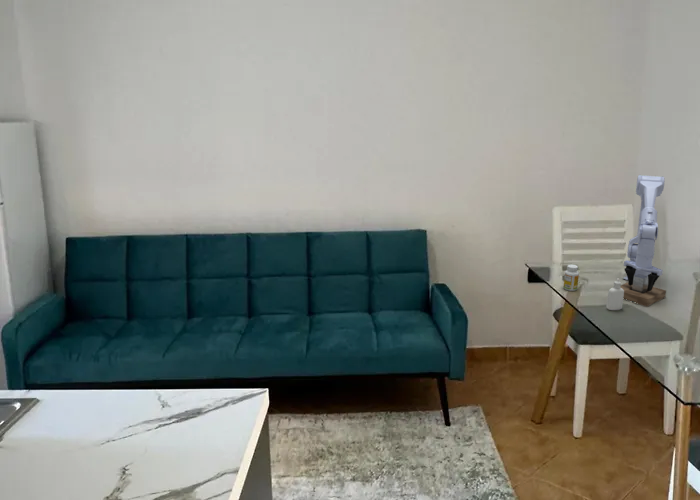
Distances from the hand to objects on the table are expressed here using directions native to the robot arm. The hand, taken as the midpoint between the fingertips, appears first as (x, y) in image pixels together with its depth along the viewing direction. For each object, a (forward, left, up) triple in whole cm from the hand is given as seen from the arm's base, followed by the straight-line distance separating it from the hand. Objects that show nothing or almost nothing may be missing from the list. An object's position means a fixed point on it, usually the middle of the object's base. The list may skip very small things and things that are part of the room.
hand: (639, 287), depth 251 cm
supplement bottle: (+13, -22, -4) cm, 26 cm away
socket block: (0, 0, -4) cm, 4 cm away
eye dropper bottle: (+18, 0, -4) cm, 18 cm away
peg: (0, 0, -3) cm, 3 cm away
